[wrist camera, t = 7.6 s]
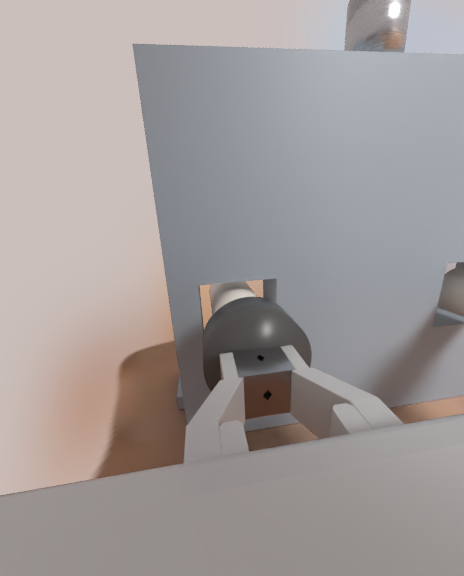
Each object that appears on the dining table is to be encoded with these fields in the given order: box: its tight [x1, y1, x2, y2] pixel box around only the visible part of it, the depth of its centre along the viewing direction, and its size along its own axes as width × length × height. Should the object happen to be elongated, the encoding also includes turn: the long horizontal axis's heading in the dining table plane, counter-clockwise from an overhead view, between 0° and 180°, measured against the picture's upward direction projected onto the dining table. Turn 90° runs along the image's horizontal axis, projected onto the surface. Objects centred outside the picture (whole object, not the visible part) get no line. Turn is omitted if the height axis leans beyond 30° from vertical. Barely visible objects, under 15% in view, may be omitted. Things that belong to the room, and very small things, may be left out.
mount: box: [133, 44, 464, 432], centre depth 18 cm, size 8×26×22 cm, turn 98°
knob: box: [202, 281, 312, 392], centre depth 14 cm, size 10×5×5 cm, turn 8°
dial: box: [344, 0, 411, 53], centre depth 12 cm, size 3×3×5 cm
